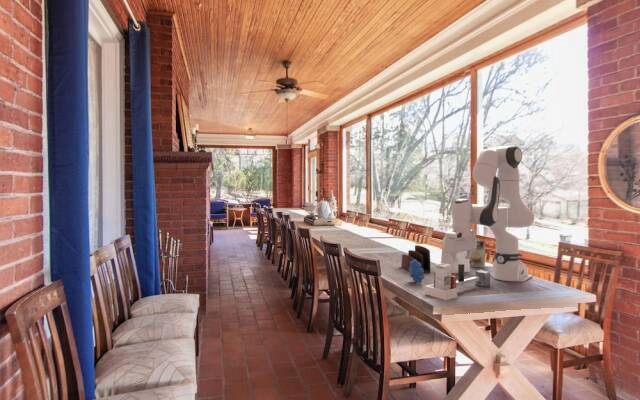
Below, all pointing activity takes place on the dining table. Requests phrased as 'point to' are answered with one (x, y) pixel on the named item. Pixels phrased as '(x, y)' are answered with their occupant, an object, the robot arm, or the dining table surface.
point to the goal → (440, 292)
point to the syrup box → (442, 276)
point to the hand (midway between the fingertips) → (461, 260)
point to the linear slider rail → (462, 278)
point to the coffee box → (478, 255)
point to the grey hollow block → (483, 278)
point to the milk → (448, 259)
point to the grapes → (416, 271)
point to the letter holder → (417, 258)
